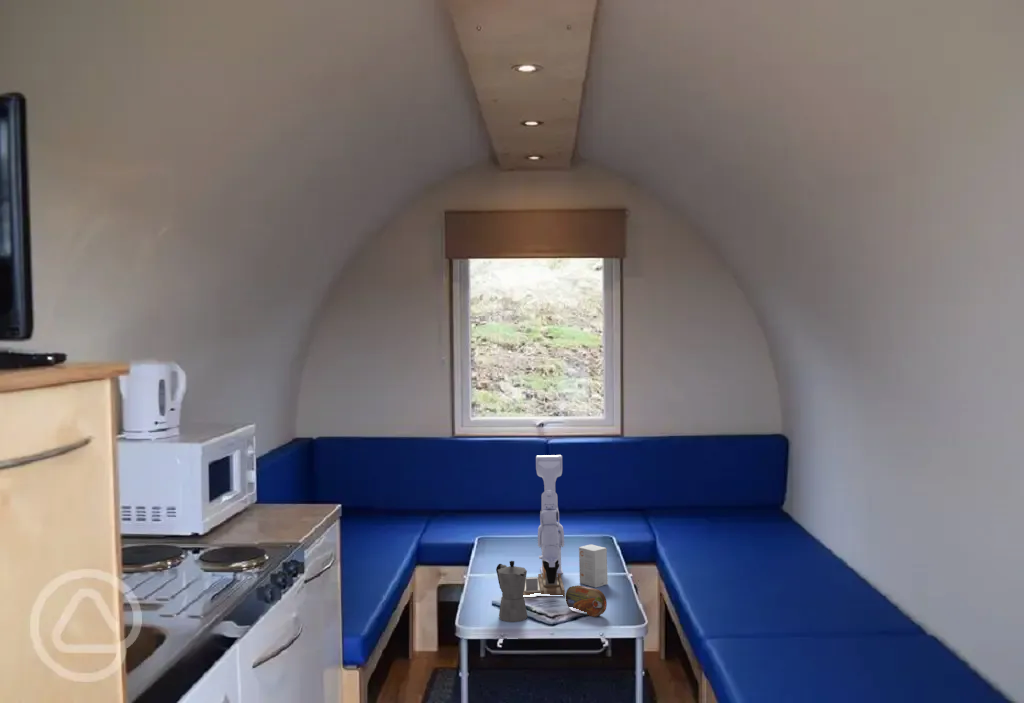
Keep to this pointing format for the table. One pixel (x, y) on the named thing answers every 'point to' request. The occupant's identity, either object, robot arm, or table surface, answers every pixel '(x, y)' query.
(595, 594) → the tin
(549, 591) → the lane board
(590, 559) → the small box
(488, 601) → the table surface
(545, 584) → the strip
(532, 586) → the strip
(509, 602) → the coffeepot
